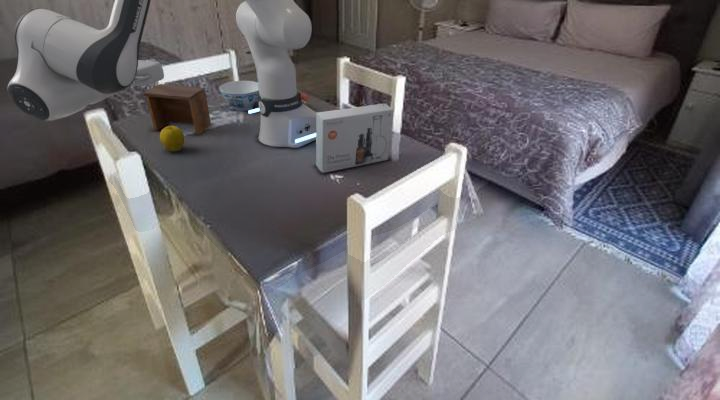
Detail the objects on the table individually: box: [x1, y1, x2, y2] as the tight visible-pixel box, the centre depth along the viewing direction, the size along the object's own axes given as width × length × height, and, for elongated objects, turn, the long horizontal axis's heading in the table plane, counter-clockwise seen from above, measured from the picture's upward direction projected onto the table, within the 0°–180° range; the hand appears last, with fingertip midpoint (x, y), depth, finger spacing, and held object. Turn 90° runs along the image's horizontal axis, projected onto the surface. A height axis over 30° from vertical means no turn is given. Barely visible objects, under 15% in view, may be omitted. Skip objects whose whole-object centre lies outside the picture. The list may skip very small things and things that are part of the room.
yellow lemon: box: [159, 125, 185, 153], centre depth 113 cm, size 6×6×8 cm
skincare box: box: [315, 103, 395, 174], centre depth 108 cm, size 21×6×16 cm, turn 117°
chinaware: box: [218, 80, 259, 112], centre depth 144 cm, size 15×15×8 cm
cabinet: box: [142, 83, 212, 136], centre depth 125 cm, size 9×15×12 cm, turn 81°
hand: (135, 60), depth 91 cm, fingers open, 8 cm apart
